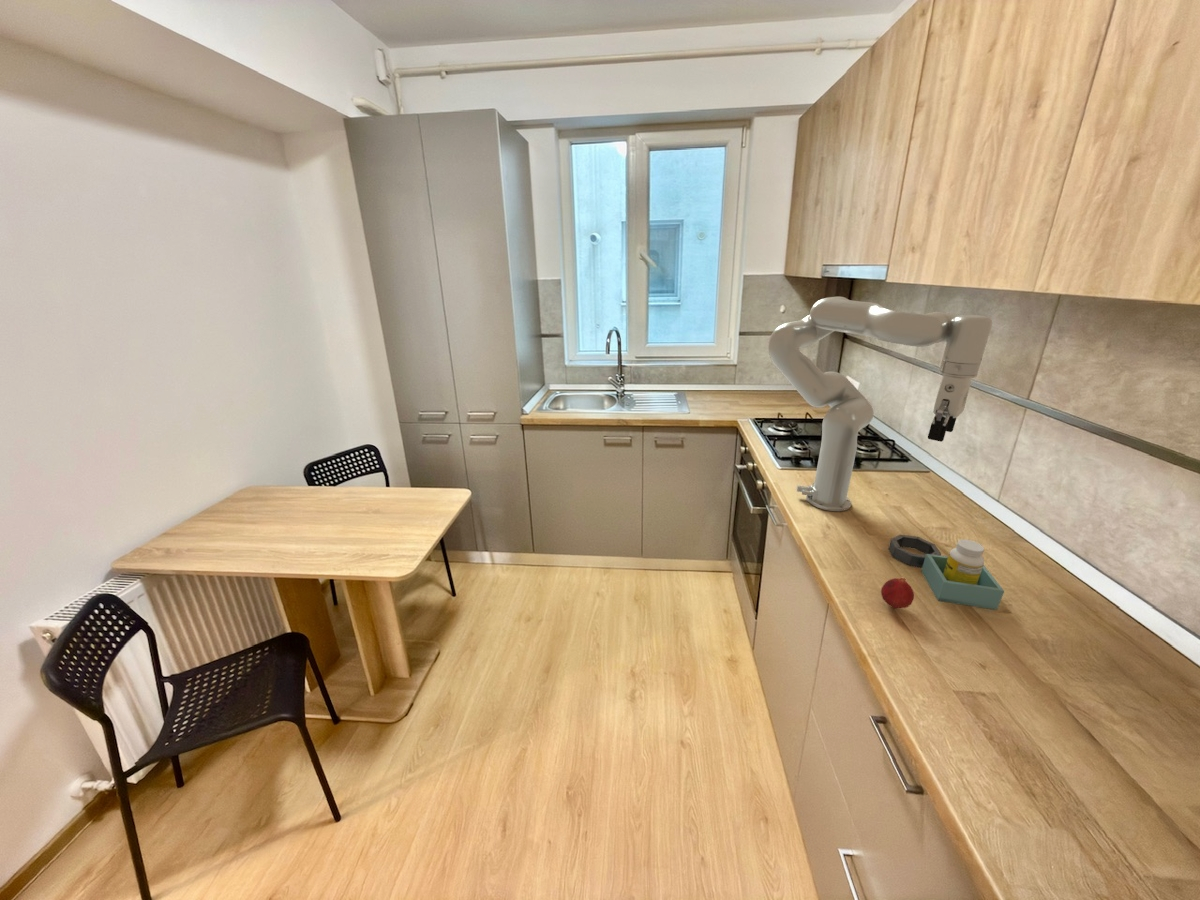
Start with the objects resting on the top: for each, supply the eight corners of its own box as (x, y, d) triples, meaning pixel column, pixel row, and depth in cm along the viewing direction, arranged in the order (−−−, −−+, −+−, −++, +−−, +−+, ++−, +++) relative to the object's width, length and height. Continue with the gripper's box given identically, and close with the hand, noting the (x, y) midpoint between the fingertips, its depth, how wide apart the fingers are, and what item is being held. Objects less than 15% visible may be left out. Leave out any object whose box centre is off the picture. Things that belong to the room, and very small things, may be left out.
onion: (880, 612, 99) (888, 582, 96) (876, 596, 104) (884, 566, 101) (911, 619, 97) (921, 588, 94) (906, 602, 102) (915, 572, 99)
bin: (937, 600, 103) (944, 582, 101) (921, 571, 113) (926, 553, 111) (996, 610, 100) (1004, 590, 98) (974, 578, 110) (980, 561, 108)
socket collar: (896, 564, 115) (898, 554, 114) (885, 542, 124) (887, 532, 123) (942, 570, 113) (945, 560, 111) (928, 548, 122) (931, 538, 120)
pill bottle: (940, 574, 110) (953, 534, 106) (973, 584, 107) (987, 542, 103) (940, 588, 105) (953, 547, 101) (974, 599, 102) (989, 556, 98)
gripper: (970, 377, 104) (949, 448, 111) (985, 365, 115) (965, 430, 122) (931, 371, 109) (913, 440, 116) (948, 361, 120) (931, 424, 127)
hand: (940, 435), depth 119 cm, fingers open, 9 cm apart
